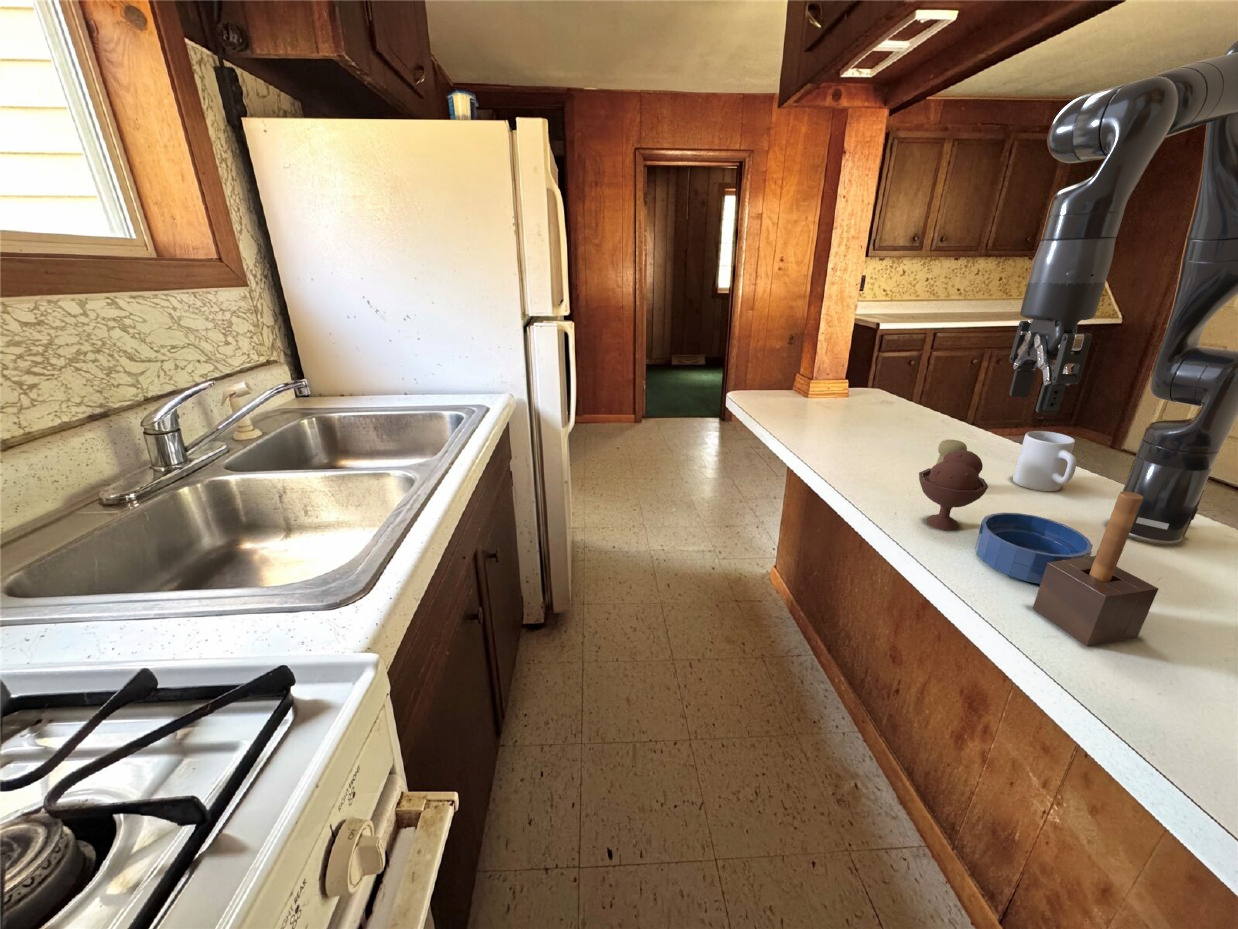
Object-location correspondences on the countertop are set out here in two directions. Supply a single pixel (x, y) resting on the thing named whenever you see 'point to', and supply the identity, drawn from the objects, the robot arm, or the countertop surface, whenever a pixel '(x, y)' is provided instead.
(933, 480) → the ice cream bowl
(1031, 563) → the blue round bowl
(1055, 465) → the mug
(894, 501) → the countertop surface
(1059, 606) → the stand
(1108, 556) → the stirring stick
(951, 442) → the cork
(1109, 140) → the robot arm
